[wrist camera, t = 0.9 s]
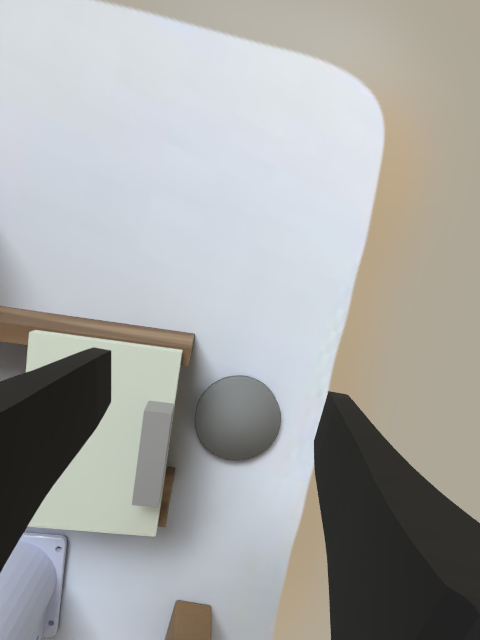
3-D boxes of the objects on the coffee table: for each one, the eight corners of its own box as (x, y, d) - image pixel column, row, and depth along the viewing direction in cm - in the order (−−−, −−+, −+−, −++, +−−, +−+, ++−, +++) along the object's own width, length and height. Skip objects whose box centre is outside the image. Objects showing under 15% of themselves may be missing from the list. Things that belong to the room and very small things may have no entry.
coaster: (271, 459, 30) (272, 464, 29) (189, 450, 29) (189, 455, 29) (285, 381, 29) (287, 384, 28) (201, 370, 28) (201, 373, 28)
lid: (157, 528, 24) (151, 556, 22) (19, 516, 23) (-3, 544, 21) (182, 349, 22) (179, 359, 20) (35, 329, 21) (14, 337, 19)
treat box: (173, 481, 30) (165, 526, 24) (-111, 453, 27) (-186, 497, 22) (194, 333, 28) (190, 348, 23) (-105, 291, 26) (-185, 296, 20)
